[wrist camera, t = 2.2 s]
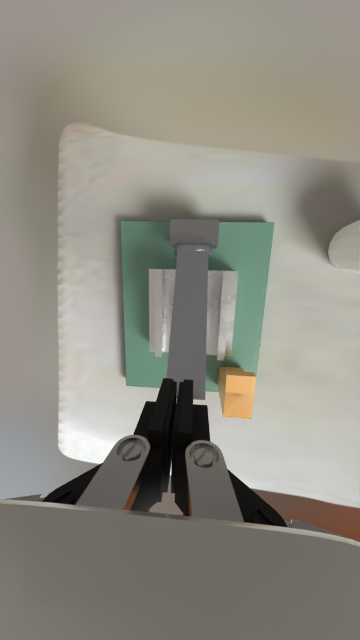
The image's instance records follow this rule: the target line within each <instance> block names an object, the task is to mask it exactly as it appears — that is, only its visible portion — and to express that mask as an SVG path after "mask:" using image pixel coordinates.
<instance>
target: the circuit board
mask: <svg viewBox="0 0 360 640" xmlns="http://www.w3.org/2000/svg"><path fill="white" fill-rule="evenodd" d="M120 225H121V252H122V279H123V307H124V334H125V362H126V386H137V387H152V388H160V387H161V384H162V381H163V378H166V376H167V365H168V354H169V352H164V353H163V356H162V357H155V352H151V351H150V342H149V269H176V263H177V255H175V248H173V247H172V246H170V222H169V221H120ZM273 229H274V222H219V237H218V246H217V247H216V249H212V253H211V256H208V270H216V271H238V281H237V293H236V304H235V316H234V328H233V339H232V351H231V356H224V361H223V360H217V357H216V355H206V381H205V391H211V392H219V389H218V381H219V367H237V368H243V370H244V372H254V374H255V375H256V373H257V365H258V356H259V348H260V339H261V331H262V322H263V314H264V305H265V297H266V288H267V280H268V271H269V263H270V254H271V246H272V237H273Z"/></svg>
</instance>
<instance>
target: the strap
mask: <svg viewBox="0 0 360 640" xmlns="http://www.w3.org/2000/svg"><path fill="white" fill-rule="evenodd" d="M211 253H212V243H175V255H177V263H176V275H175V286H174V297H173V309H172V320H171V331H170V342H169V354H168V365H167V376H166V378H171V379H173V381H177V397H178V390H179V383H180V382H183V381H184V379H188V380H193V399H196V400H205V381H206V338H207V295H208V256H211Z"/></svg>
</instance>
